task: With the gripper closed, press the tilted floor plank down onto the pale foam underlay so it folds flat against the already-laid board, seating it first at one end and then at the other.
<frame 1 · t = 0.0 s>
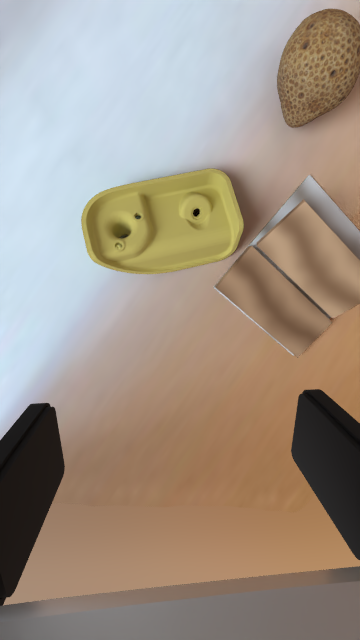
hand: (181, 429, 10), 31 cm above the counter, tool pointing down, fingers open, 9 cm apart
plastic component: (164, 226, 37), on the counter
natural sponge: (293, 97, 34), on the counter
laid floor: (293, 281, 41), on the counter
plank: (319, 265, 37), point 3 cm above the counter, hinge at 28.0°
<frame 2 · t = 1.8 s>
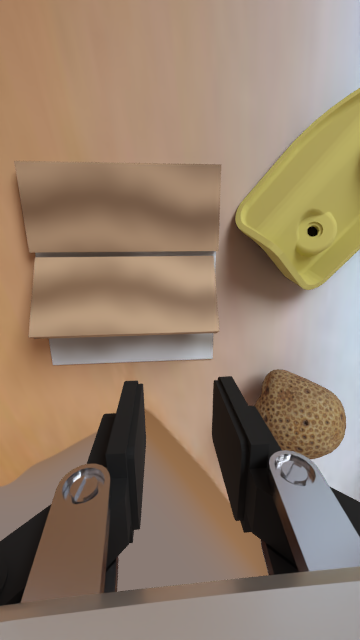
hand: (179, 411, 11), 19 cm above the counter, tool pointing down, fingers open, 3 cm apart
plastic component: (326, 193, 27), on the counter
natural sponge: (274, 389, 34), on the counter
laid floor: (128, 259, 27), on the counter
plank: (127, 295, 26), point 3 cm above the counter, hinge at 28.0°
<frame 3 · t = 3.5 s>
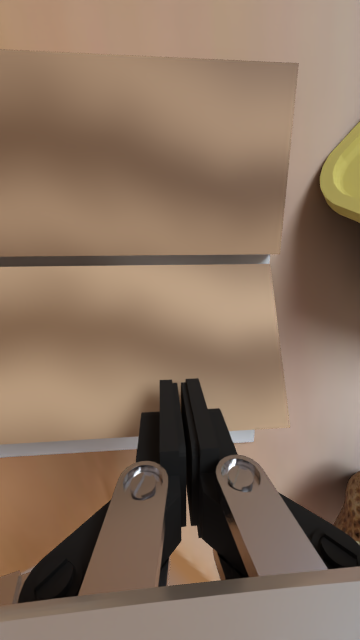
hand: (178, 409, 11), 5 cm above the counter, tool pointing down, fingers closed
natural sponge: (351, 483, 20), on the counter
laid floor: (100, 269, 14), on the counter
plank: (94, 347, 12), point 3 cm above the counter, hinge at 27.8°, touching gripper
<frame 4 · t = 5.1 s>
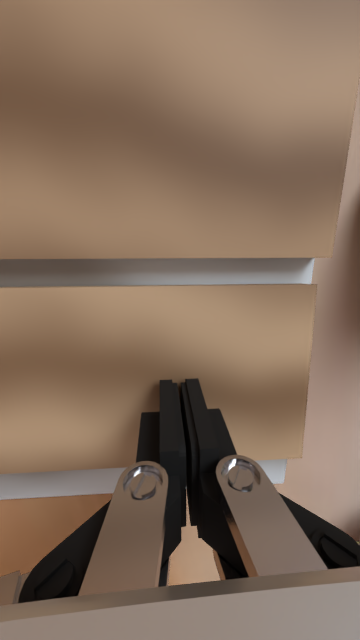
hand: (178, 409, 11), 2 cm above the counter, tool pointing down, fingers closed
laid floor: (101, 276, 11), on the counter
plank: (102, 378, 11), point 1 cm above the counter, hinge at 5.2°, touching gripper
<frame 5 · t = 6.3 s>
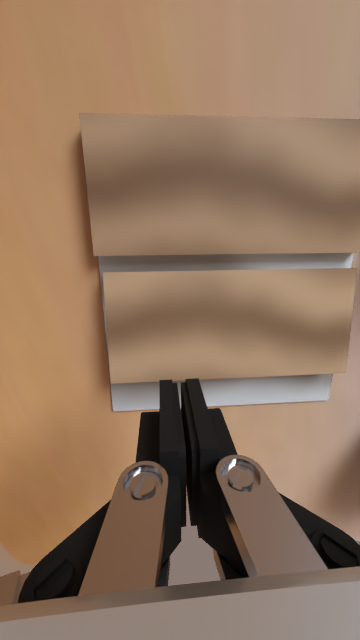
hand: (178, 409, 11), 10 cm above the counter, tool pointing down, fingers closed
laid floor: (228, 264, 19), on the counter
plank: (230, 324, 19), point 1 cm above the counter, hinge at 5.2°
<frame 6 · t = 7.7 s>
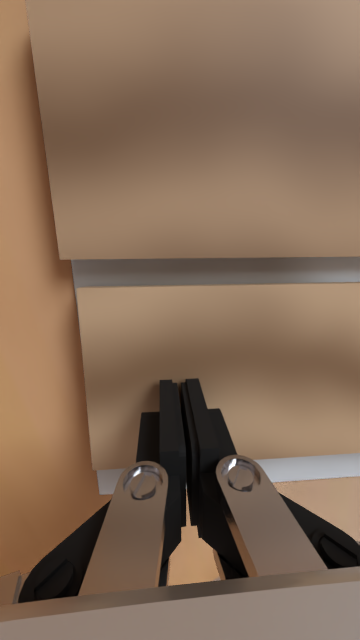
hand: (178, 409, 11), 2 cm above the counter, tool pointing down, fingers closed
laid floor: (286, 274, 12), on the counter
plank: (289, 371, 12), point 1 cm above the counter, hinge at 5.2°, touching gripper
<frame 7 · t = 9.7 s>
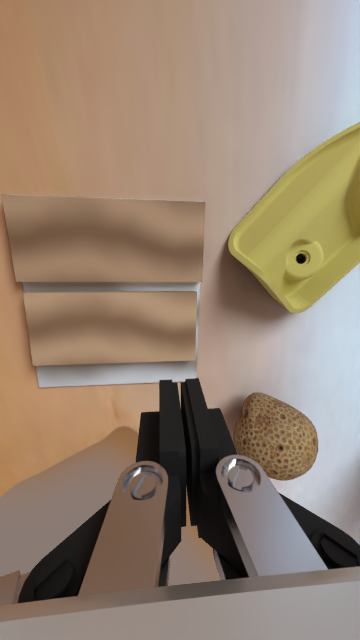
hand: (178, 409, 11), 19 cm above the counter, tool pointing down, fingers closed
plastic component: (315, 221, 29), on the counter
natural sponge: (254, 408, 35), on the counter
laid floor: (114, 287, 28), on the counter
plank: (115, 327, 28), point 1 cm above the counter, hinge at 2.8°
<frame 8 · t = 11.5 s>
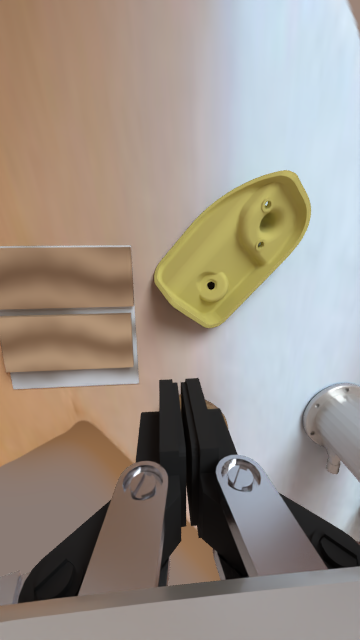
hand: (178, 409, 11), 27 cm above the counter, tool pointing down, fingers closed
plastic component: (226, 255, 36), on the counter
laid floor: (67, 311, 36), on the counter
plank: (69, 342, 36), point 1 cm above the counter, hinge at 2.8°
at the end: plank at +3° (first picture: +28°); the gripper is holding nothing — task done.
